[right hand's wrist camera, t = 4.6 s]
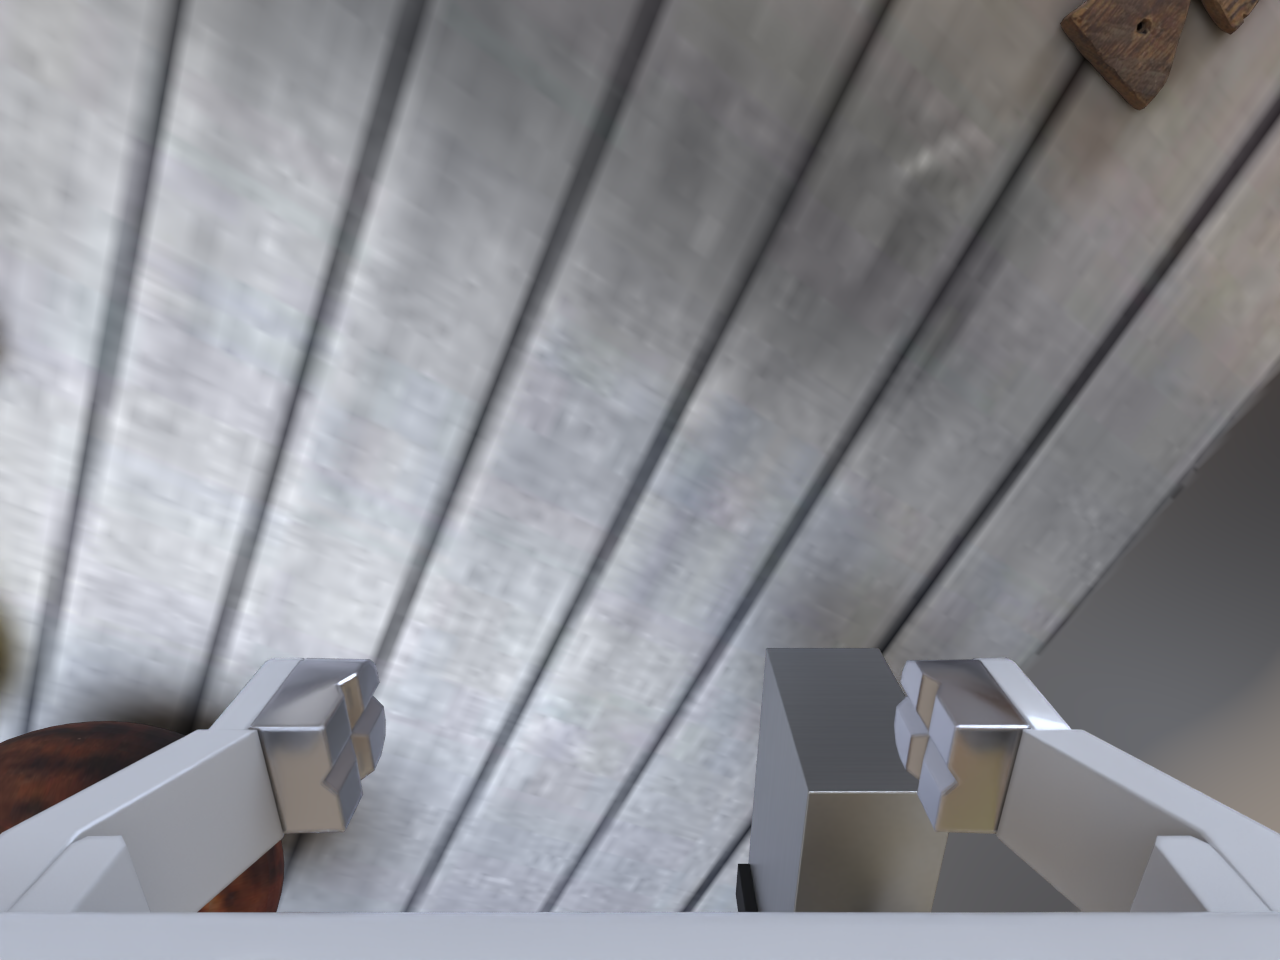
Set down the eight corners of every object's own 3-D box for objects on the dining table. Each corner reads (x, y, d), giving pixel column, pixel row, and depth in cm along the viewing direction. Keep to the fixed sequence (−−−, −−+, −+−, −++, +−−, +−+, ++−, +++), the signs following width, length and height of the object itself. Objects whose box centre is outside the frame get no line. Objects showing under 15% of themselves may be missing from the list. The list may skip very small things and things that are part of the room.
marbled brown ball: (-71, 892, 50) (-346, 1031, 32) (100, 665, 56) (-46, 670, 38) (221, 1006, 54) (126, 1188, 35) (350, 780, 60) (327, 836, 42)
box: (765, 647, 38) (808, 792, 28) (879, 647, 38) (958, 792, 28) (744, 913, 46) (771, 1096, 36) (838, 913, 46) (890, 1096, 36)
